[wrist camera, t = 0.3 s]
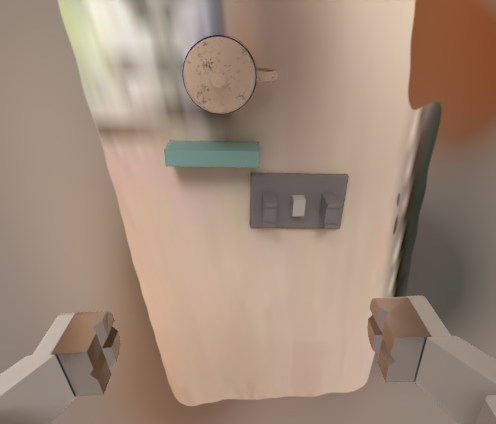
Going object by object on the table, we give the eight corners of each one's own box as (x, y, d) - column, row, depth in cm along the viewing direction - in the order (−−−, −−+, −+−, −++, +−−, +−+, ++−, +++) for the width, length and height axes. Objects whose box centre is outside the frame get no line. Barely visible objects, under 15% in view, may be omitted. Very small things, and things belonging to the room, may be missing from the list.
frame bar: (170, 140, 56) (164, 150, 51) (258, 141, 56) (259, 151, 51) (171, 155, 57) (165, 166, 52) (257, 156, 57) (259, 167, 53)
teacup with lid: (192, 99, 52) (180, 118, 42) (190, 31, 48) (176, 34, 38) (272, 103, 53) (279, 122, 43) (277, 36, 48) (286, 39, 38)
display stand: (251, 172, 58) (252, 186, 53) (346, 174, 58) (356, 188, 53) (250, 224, 63) (250, 241, 58) (338, 225, 63) (346, 242, 58)
